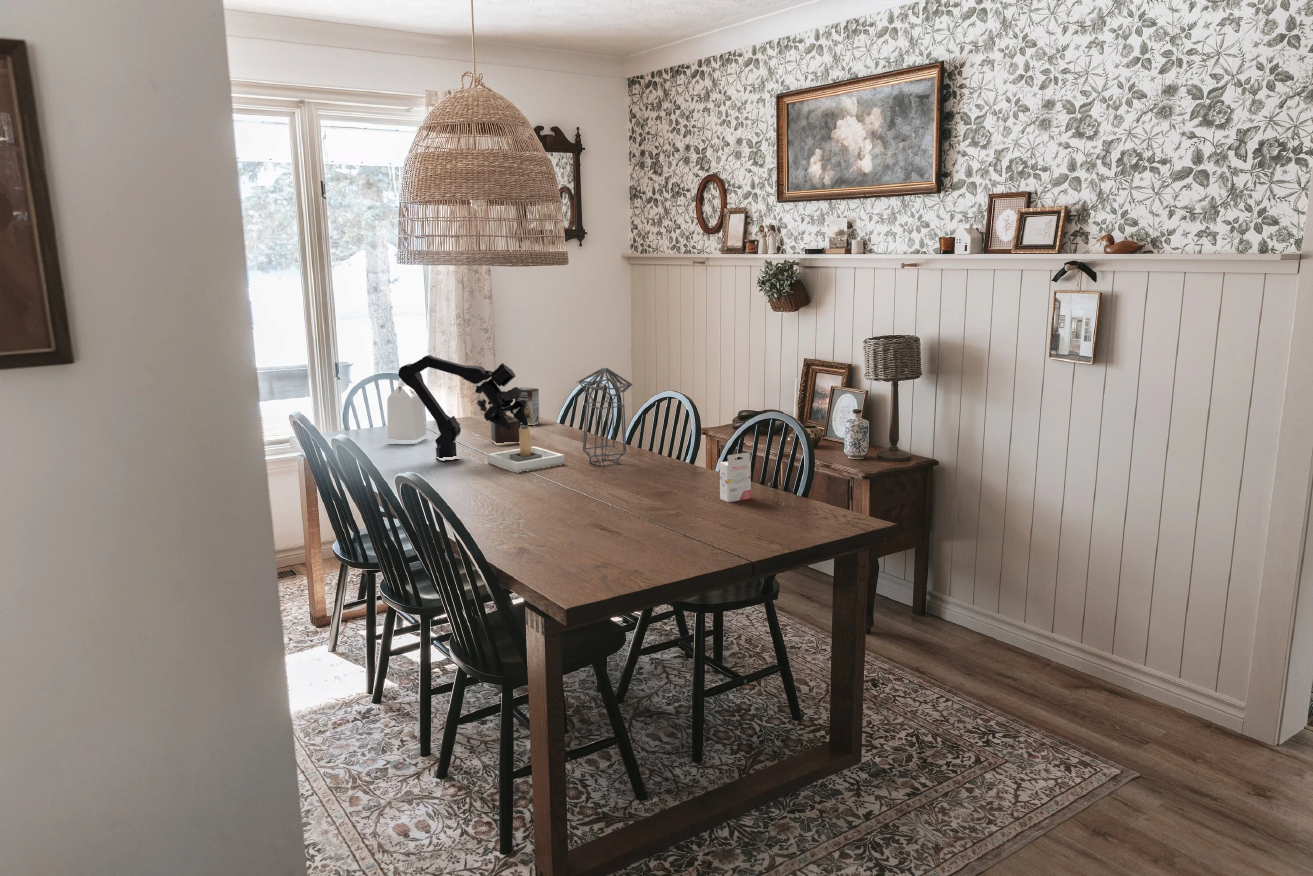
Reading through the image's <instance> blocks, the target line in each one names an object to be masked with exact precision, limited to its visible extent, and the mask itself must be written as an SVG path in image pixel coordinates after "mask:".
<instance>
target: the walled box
mask: <svg viewBox="0 0 1313 876" xmlns="http://www.w3.org/2000/svg"><path fill="white" fill-rule="evenodd" d="M488 461H489V462H491V463H494V464H497V465H500V466H503V467H506V468H509V469H510V470H513V471H516V472H520V471H527V470H532V471H535V470H534V469H537V468H542V467H548V466H553V467H555V466H554V465H559V466H561V465H560V464H564V465H565V463H566V462H565V454H562V453H558V452H555V451H552V450H549V449H545V448H541V447H538V446H531V456H528V457H520V448H516V449H510V450H504V451H499V452H492V453H487V462H488ZM548 468H549V467H548ZM537 470H538V469H537ZM527 472H528V471H527Z"/></svg>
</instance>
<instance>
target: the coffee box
mask: <svg viewBox="0 0 1313 876" xmlns="http://www.w3.org/2000/svg"><path fill="white" fill-rule="evenodd" d="M518 388H519V389H520V390H521V394H520V397H517V398H515V399H514V402H515V401H516V400H520V399H524V400H525V401H526V402H527V405H526V408H525V410H524V412H525V416H526V419H527V422H528V423H529V424H534V423H537V422H539V423H540V396H539V395H540V394H539V393H540V392H539V390H540V389H539V388H534V387H518ZM520 423H521V422H520Z"/></svg>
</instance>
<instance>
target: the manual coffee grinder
mask: <svg viewBox="0 0 1313 876" xmlns="http://www.w3.org/2000/svg"><path fill="white" fill-rule="evenodd" d="M476 404H477V406H478V407H479V408H480V409H479V411H481V412H484V413H485V412H486V411H487V409H488V408H487V400H486V399H485V398H479V399H477V402H476ZM504 417H505V418H506V420H507V421H508V423H509V424H510V426H511V428H512V429H511V430H508V429H506V428H504V427H502V426H500V425H497V424H495V423H493V422H490V435H491V436H490V440H491V439H492V440H493V441H495V442H496V443H504V442H519V441H520V440H519V428H521V426H522V425H521V423H520V421H518V420H517V419H516V418H515V417H513V416H511V415H509V414H507V412H504Z"/></svg>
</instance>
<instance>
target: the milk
mask: <svg viewBox="0 0 1313 876" xmlns="http://www.w3.org/2000/svg"><path fill="white" fill-rule="evenodd" d="M397 383H398V385H397V387H396V388H395V389H394V391H392V392H391V393H390V394H389V396H388V397H387V399H386V400H387V401H386V402H387V405H386V407H387V409H386V412H387V413H386V414H387V416H386V417H387V419H386V420H387V440H388V439H396V440H417V439H419V438H420V437H422V436H424V435H426V436H427V430H426V422H425V413H424V404H423V402H422V401H421V399H420V398H419V397H418V395H417V394H416V392H415V391H414V390H413V389H412V388H410V387H409V386H408V385H406V384H405V383H404V382H403V381H402V380H401V379H400V378H399V379H398V382H397Z"/></svg>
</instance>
